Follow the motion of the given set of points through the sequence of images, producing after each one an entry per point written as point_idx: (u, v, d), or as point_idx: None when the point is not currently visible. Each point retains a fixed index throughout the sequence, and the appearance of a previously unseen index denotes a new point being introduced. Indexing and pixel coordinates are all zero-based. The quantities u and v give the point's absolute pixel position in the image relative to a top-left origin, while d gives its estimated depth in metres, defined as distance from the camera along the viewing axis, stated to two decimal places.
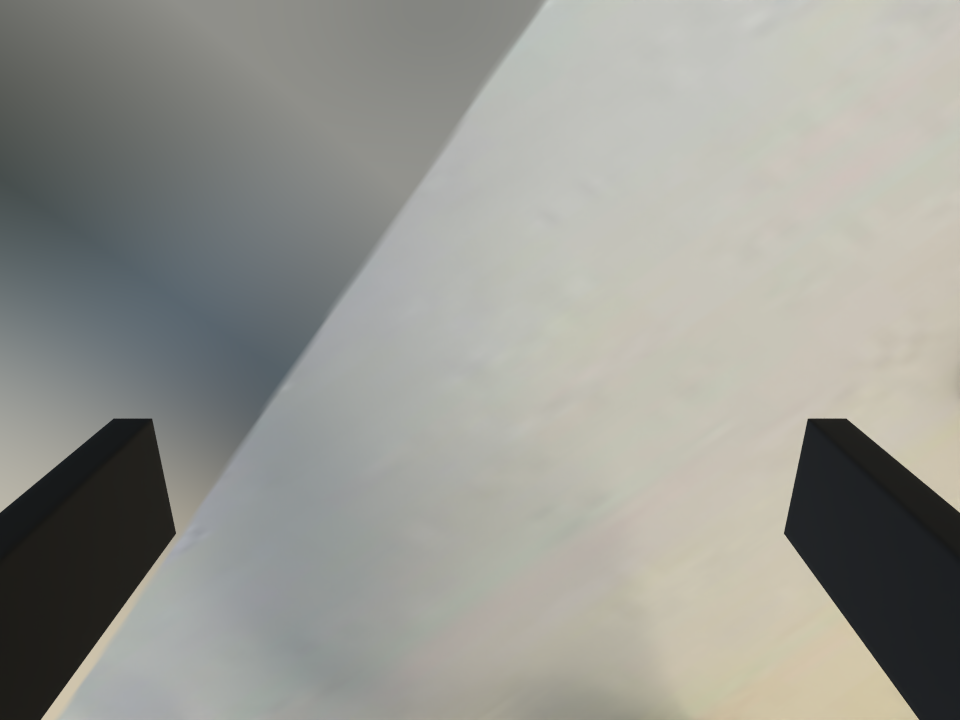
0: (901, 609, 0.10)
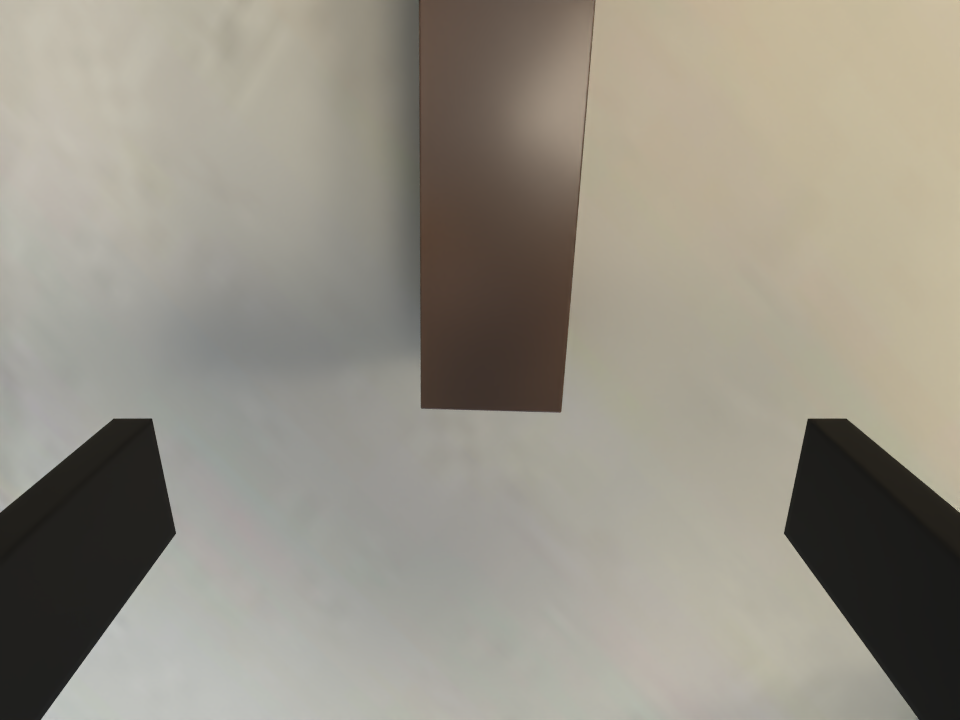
0: (901, 609, 0.10)
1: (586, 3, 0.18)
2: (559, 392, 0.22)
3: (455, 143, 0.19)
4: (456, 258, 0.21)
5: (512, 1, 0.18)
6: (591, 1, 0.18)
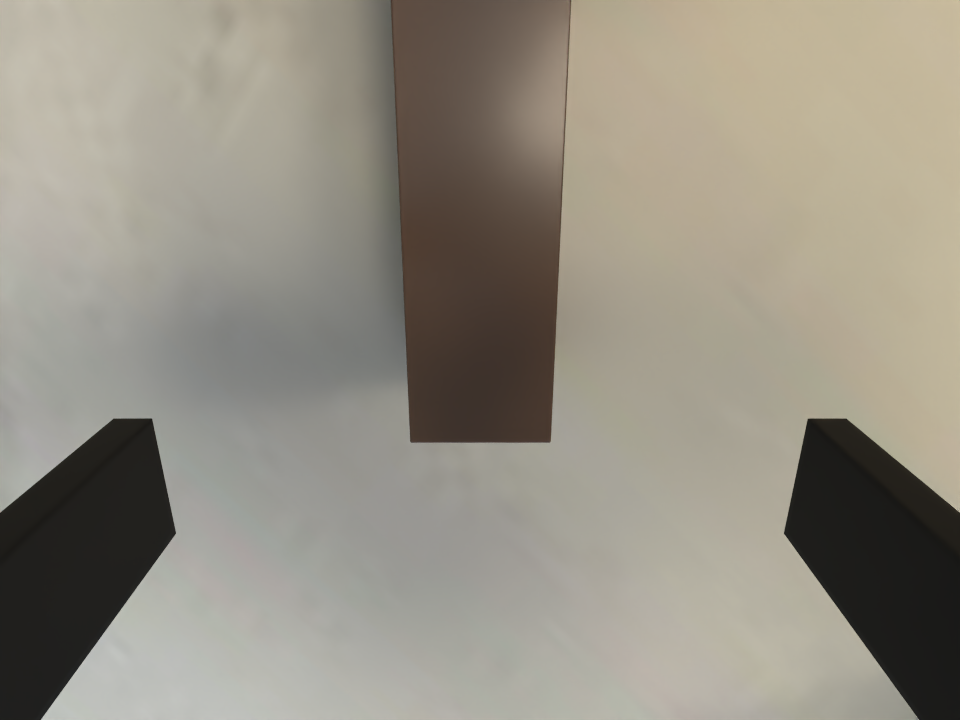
0: (901, 609, 0.10)
1: (560, 41, 0.18)
2: (548, 423, 0.22)
3: (434, 182, 0.19)
4: (440, 295, 0.21)
5: (486, 41, 0.18)
6: (564, 38, 0.18)
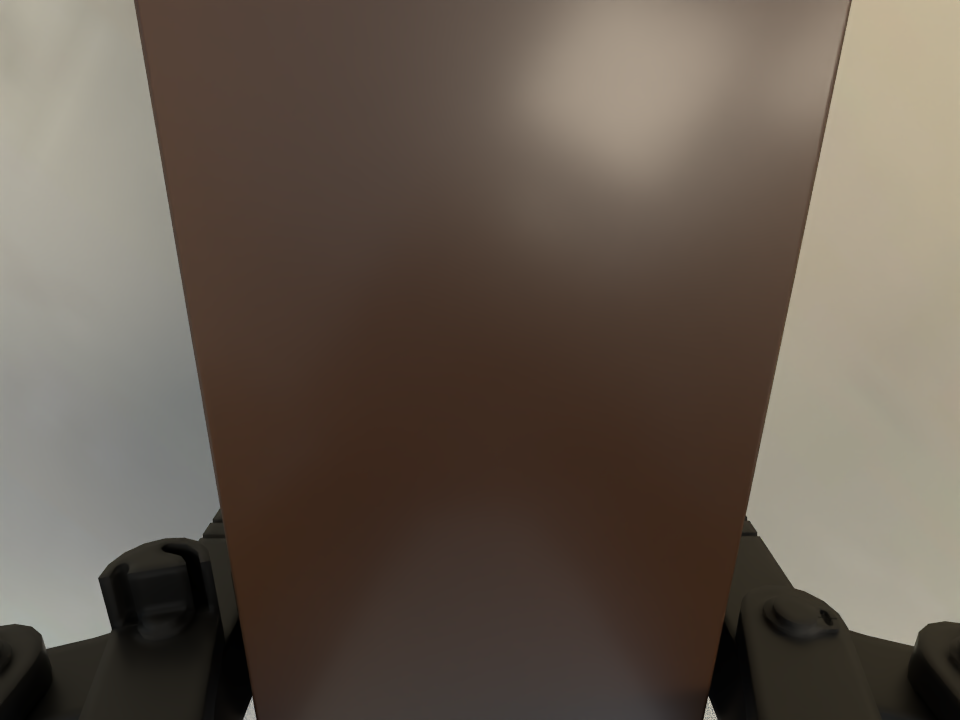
0: None
1: None
2: None
3: (319, 354, 0.05)
4: (358, 665, 0.07)
5: None
6: None
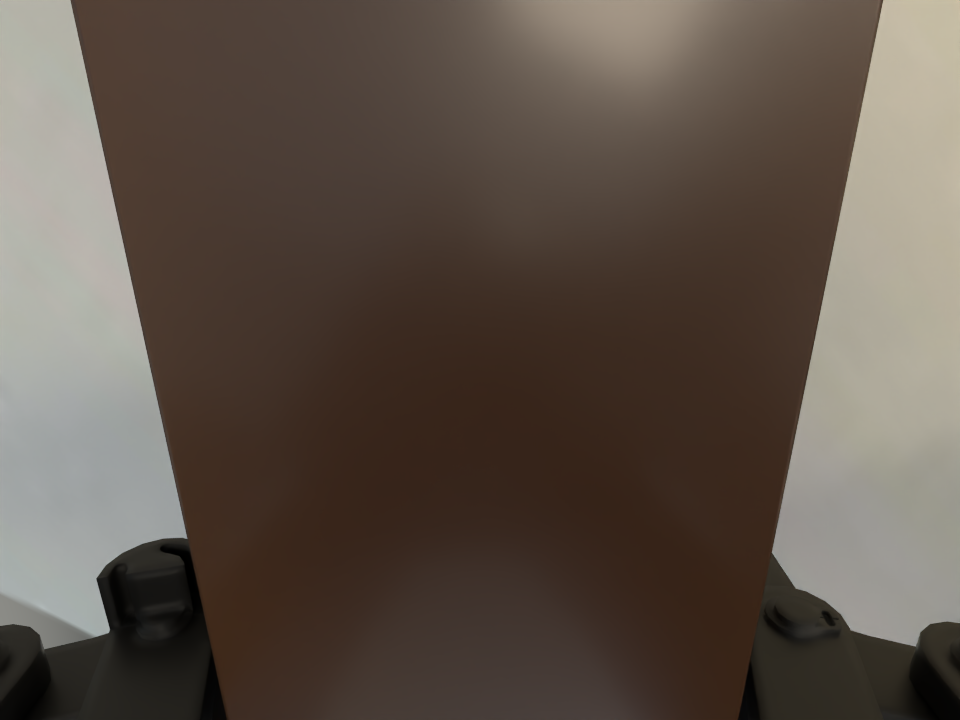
0: None
1: None
2: None
3: (295, 390, 0.05)
4: None
5: None
6: None
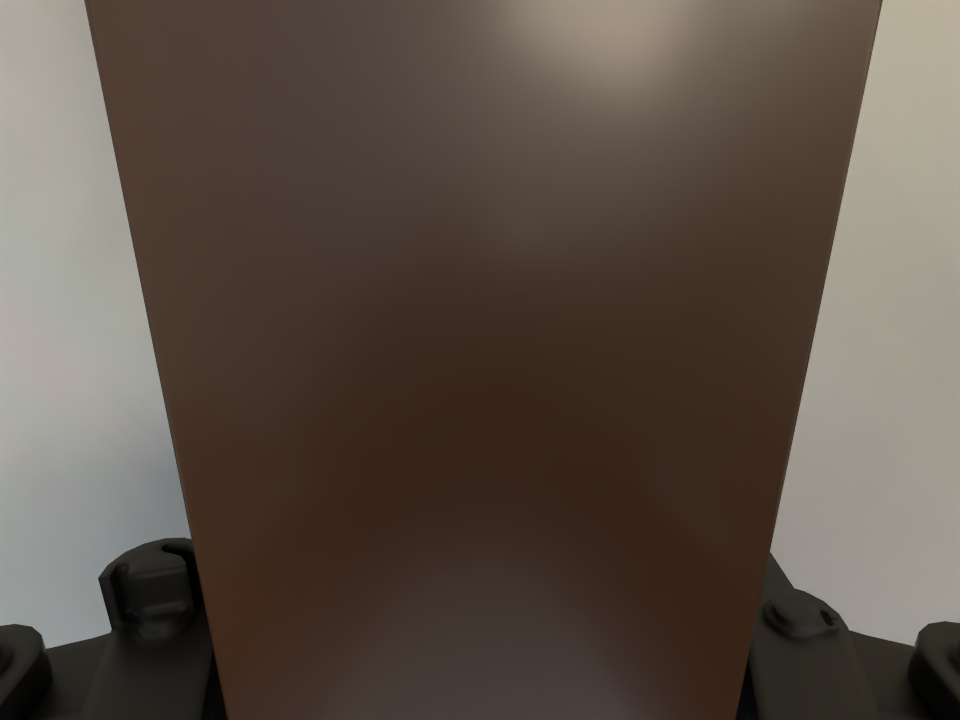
0: None
1: None
2: None
3: (298, 383, 0.05)
4: (348, 717, 0.06)
5: None
6: None
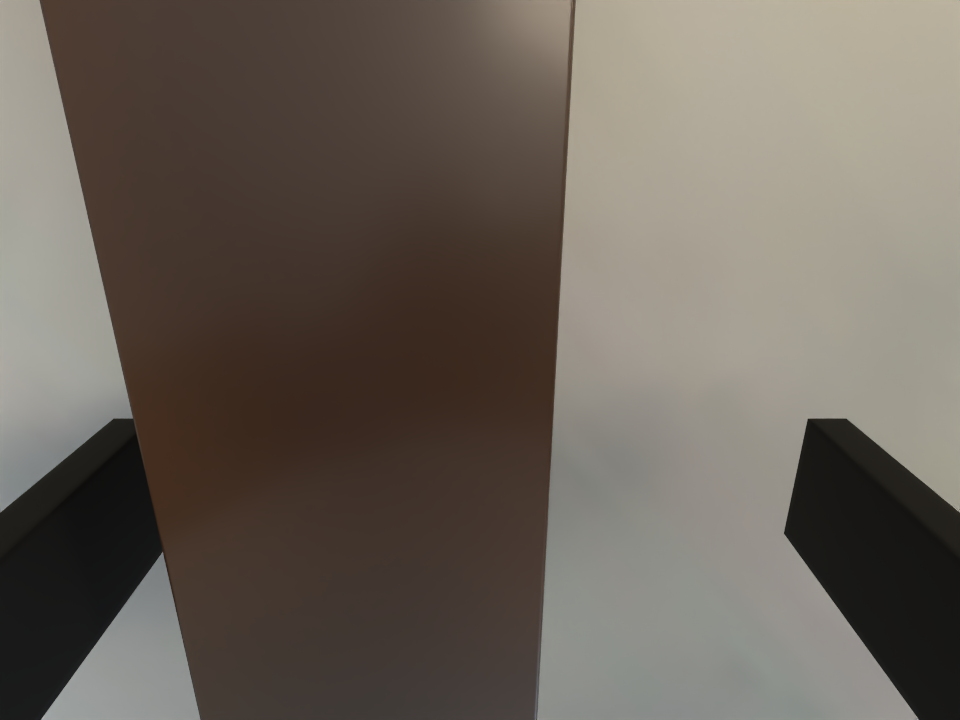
0: (901, 609, 0.10)
1: None
2: None
3: (190, 217, 0.07)
4: (246, 503, 0.08)
5: None
6: None
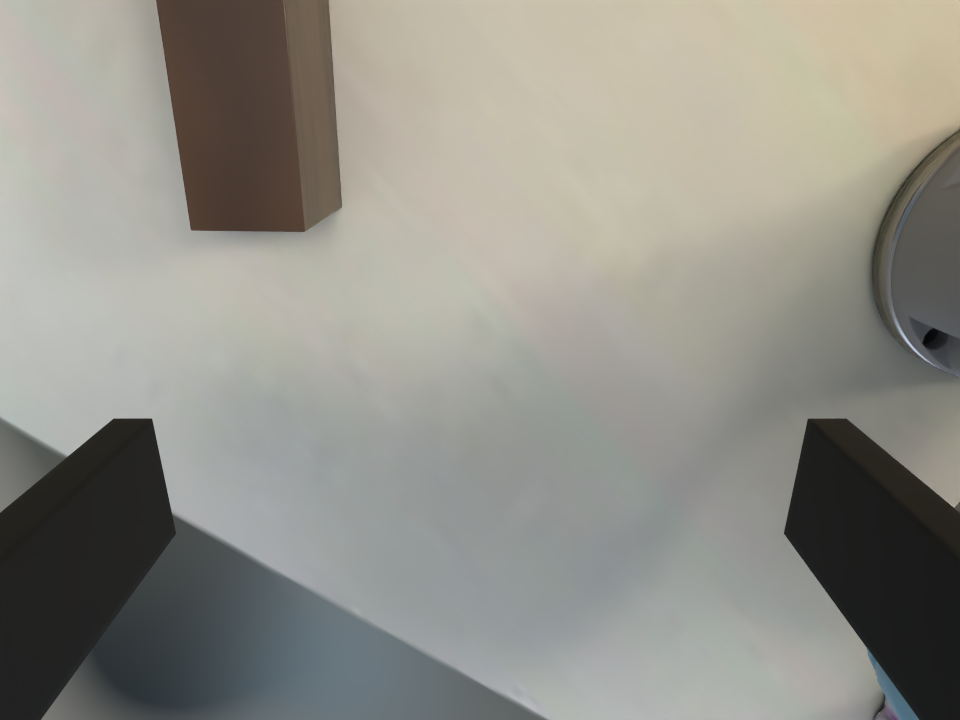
0: (901, 609, 0.10)
1: None
2: (300, 213, 0.27)
3: None
4: (199, 97, 0.26)
5: None
6: None
